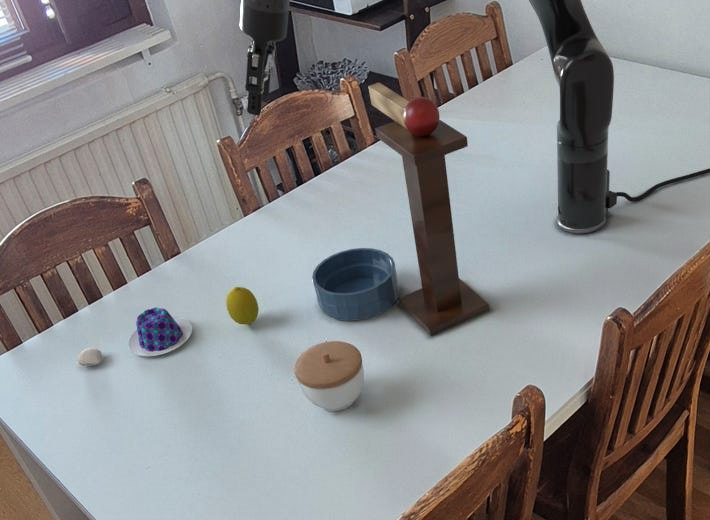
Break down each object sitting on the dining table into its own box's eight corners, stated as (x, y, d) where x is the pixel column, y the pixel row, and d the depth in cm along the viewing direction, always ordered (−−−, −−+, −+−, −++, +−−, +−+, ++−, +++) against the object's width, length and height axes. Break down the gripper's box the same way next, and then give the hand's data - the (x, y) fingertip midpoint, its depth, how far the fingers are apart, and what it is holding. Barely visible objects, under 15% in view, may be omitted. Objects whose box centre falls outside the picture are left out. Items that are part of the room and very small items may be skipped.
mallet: (448, 134, 122) (443, 98, 118) (416, 146, 120) (411, 109, 116) (391, 97, 134) (385, 63, 130) (362, 108, 132) (355, 73, 128)
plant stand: (398, 303, 149) (366, 131, 126) (454, 280, 152) (433, 107, 129) (432, 338, 141) (405, 159, 118) (490, 312, 144) (475, 133, 121)
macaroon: (96, 352, 150) (90, 341, 148) (112, 361, 148) (106, 350, 146) (77, 365, 148) (71, 354, 146) (92, 374, 146) (86, 363, 144)
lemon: (257, 333, 148) (245, 296, 142) (229, 333, 149) (216, 296, 144) (267, 315, 152) (255, 278, 146) (240, 315, 153) (227, 278, 147)
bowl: (363, 266, 159) (358, 239, 155) (416, 293, 151) (411, 264, 146) (303, 303, 153) (295, 276, 149) (354, 333, 145) (348, 305, 140)
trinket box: (305, 383, 136) (291, 338, 130) (368, 373, 136) (358, 327, 129) (305, 426, 129) (290, 380, 122) (371, 415, 129) (360, 369, 122)
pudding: (206, 333, 150) (196, 309, 146) (153, 367, 145) (141, 344, 141) (169, 312, 157) (160, 289, 153) (117, 344, 151) (105, 321, 147)
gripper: (282, 21, 125) (273, 125, 136) (295, -6, 135) (286, 93, 146) (233, 9, 124) (228, 115, 135) (249, -17, 134) (243, 84, 145)
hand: (258, 104), depth 141 cm, fingers open, 8 cm apart
